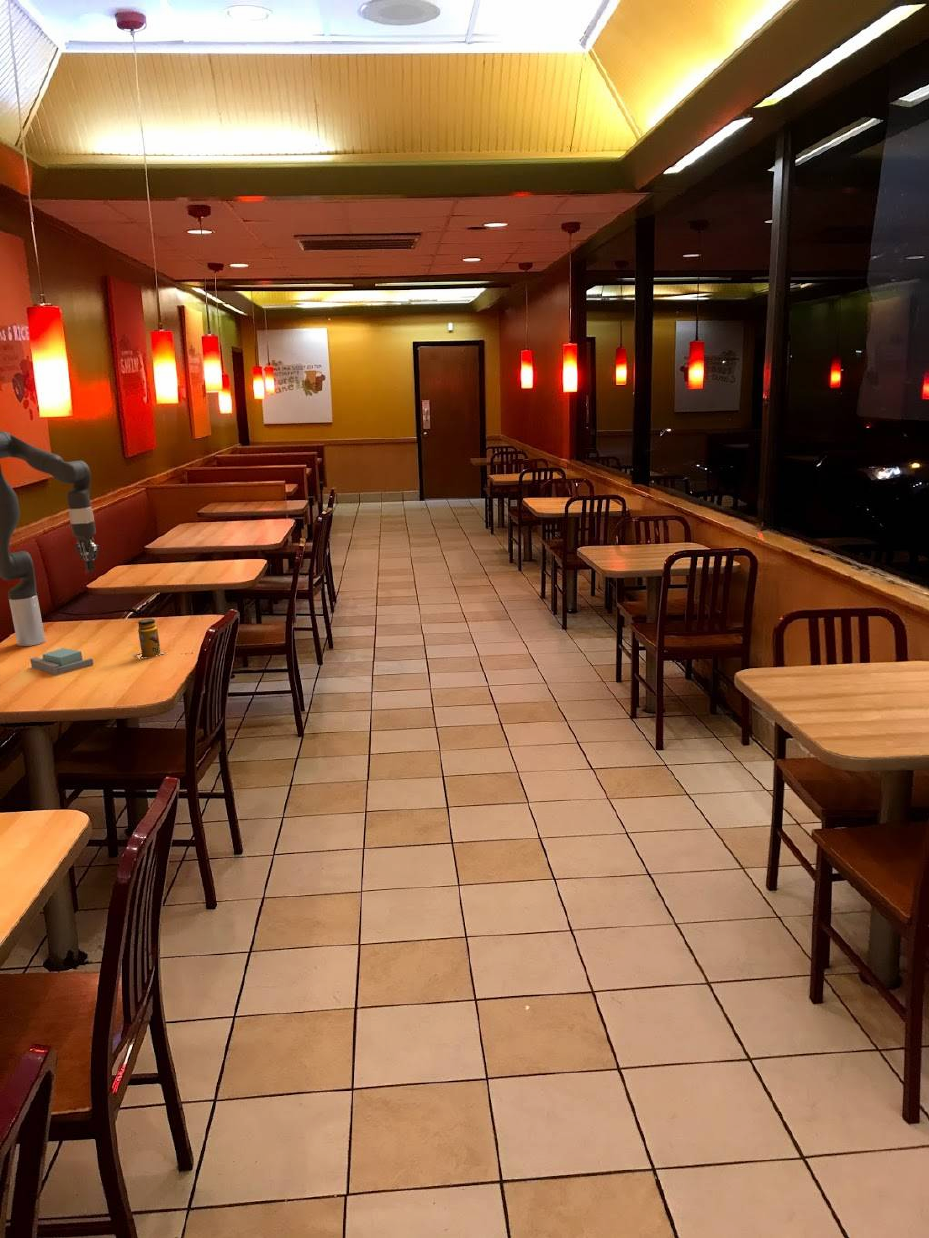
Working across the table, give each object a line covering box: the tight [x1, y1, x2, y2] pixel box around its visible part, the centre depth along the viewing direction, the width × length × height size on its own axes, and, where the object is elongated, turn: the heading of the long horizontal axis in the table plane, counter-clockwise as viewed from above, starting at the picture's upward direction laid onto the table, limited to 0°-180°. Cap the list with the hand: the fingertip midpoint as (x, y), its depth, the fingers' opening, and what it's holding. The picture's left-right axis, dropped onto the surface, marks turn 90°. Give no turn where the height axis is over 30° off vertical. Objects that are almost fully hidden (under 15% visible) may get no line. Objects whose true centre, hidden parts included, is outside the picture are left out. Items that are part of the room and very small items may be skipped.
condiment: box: [133, 618, 164, 661], centre depth 308 cm, size 7×8×12 cm
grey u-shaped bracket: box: [29, 656, 94, 676], centre depth 302 cm, size 16×13×3 cm
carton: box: [41, 647, 84, 667], centre depth 301 cm, size 10×8×5 cm
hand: (90, 571), depth 316 cm, fingers closed
